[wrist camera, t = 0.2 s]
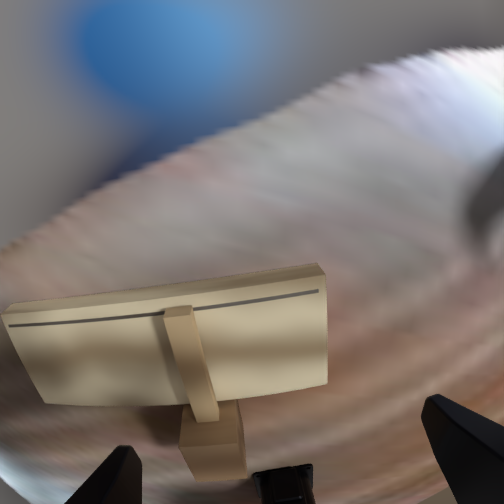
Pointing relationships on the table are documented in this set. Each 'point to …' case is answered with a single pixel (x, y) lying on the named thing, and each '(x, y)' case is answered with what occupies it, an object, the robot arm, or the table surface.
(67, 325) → the board
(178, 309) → the wooden mallet
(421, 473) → the table surface
